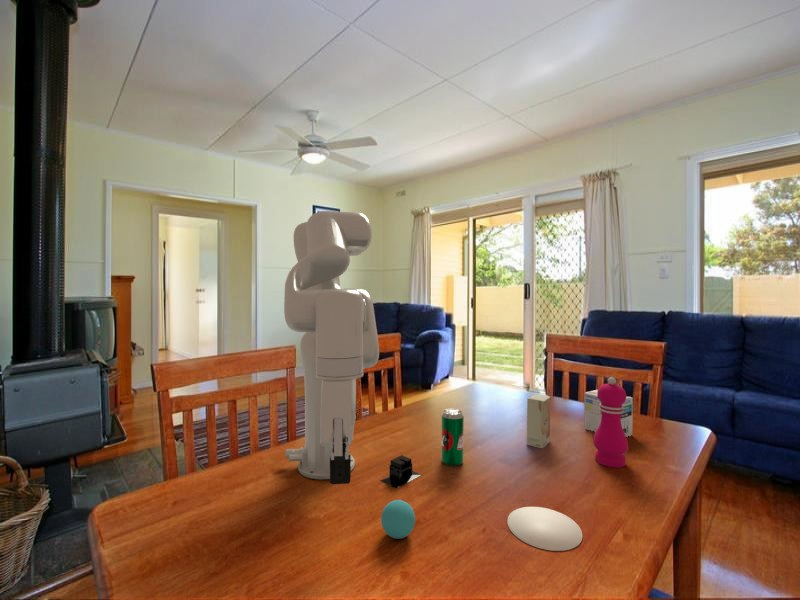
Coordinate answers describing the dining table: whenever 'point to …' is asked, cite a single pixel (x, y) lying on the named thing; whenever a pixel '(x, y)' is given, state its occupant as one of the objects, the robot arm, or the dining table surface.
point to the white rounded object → (544, 528)
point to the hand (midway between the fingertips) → (340, 481)
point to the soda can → (452, 437)
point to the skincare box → (538, 420)
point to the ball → (398, 519)
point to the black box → (400, 472)
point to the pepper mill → (611, 426)
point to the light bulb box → (594, 414)
